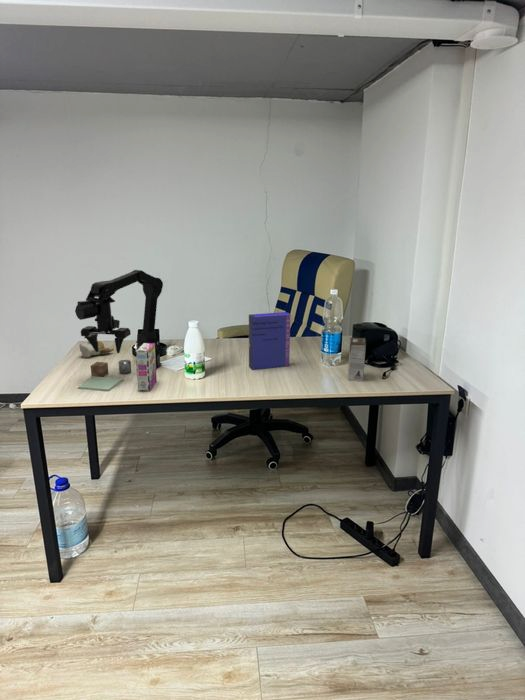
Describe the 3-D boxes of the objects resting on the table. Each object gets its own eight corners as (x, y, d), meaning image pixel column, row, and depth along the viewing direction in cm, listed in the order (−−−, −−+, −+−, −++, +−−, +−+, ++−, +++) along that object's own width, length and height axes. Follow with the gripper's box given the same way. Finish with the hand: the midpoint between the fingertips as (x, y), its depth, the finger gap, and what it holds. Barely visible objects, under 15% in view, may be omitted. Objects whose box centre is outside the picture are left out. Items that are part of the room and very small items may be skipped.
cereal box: (285, 363, 215) (286, 311, 208) (289, 366, 211) (290, 313, 203) (248, 366, 210) (248, 314, 203) (251, 370, 205) (251, 316, 198)
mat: (123, 380, 193) (123, 378, 192) (108, 391, 181) (108, 389, 181) (94, 378, 195) (94, 376, 195) (78, 388, 184) (77, 386, 183)
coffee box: (348, 372, 203) (350, 337, 198) (363, 373, 202) (365, 337, 197) (347, 380, 194) (350, 343, 189) (363, 381, 193) (366, 343, 188)
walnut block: (108, 373, 201) (107, 362, 199) (102, 377, 196) (101, 366, 194) (97, 372, 201) (96, 361, 200) (91, 376, 197) (90, 365, 195)
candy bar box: (150, 391, 181) (147, 351, 176) (137, 391, 181) (134, 350, 177) (157, 381, 192) (155, 342, 187) (145, 381, 192) (142, 342, 187)
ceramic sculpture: (73, 338, 220) (101, 333, 232) (74, 356, 222) (102, 350, 234) (85, 342, 214) (114, 338, 225) (86, 361, 216) (115, 355, 227)
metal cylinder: (133, 371, 204) (132, 360, 202) (128, 375, 199) (127, 363, 197) (122, 370, 205) (121, 359, 203) (117, 374, 200) (116, 363, 198)
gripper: (134, 311, 191) (138, 347, 196) (92, 309, 194) (96, 345, 199) (122, 317, 181) (125, 356, 185) (77, 315, 184) (82, 353, 189)
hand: (107, 352), depth 190 cm, fingers open, 9 cm apart
